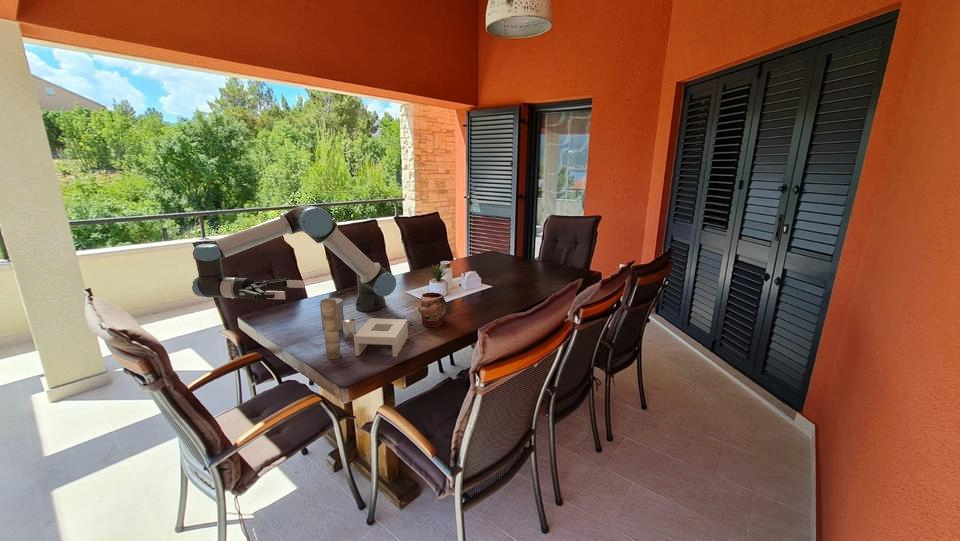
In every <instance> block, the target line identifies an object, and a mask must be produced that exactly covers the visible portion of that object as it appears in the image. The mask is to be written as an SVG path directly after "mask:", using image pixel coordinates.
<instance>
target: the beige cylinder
mask: <svg viewBox="0 0 960 541" xmlns="http://www.w3.org/2000/svg"><path fill="white" fill-rule="evenodd" d="M326 299H335V300H336V308H337V319H338V330H343V324H342V321H343V320H344V319H345V316H344V304H343V301H344V300H343V298H341V297H328V298H324V299H322V300H320V301H319V307H320V317H321V318H320V320H321V326H322V327H321V329H322V330H323V331H324V324H323V314H322V304H321V302H322V301H323V300H326Z"/></svg>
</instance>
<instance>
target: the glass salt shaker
mask: <svg viewBox="0 0 960 541" xmlns="http://www.w3.org/2000/svg"><path fill="white" fill-rule="evenodd" d="M342 324H343V328H342V333H343V340H344V341H346V342H347V341H348V342H349V341H354V335H355V334H356V333H357V331H356V327H357V326H356V318H352V317H349V318H348V317H347V318H344V320H343V321H342Z"/></svg>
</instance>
